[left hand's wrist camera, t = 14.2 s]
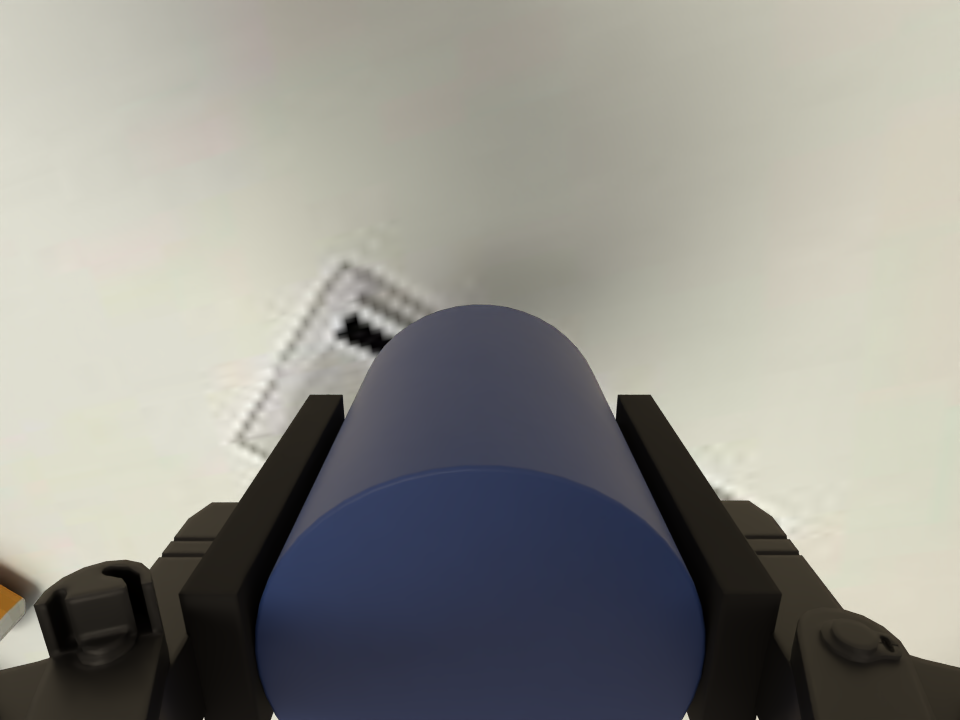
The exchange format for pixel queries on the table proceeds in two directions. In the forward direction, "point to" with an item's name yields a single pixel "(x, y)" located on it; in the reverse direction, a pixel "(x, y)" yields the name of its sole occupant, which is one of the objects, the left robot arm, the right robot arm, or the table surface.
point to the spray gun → (10, 610)
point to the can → (480, 546)
